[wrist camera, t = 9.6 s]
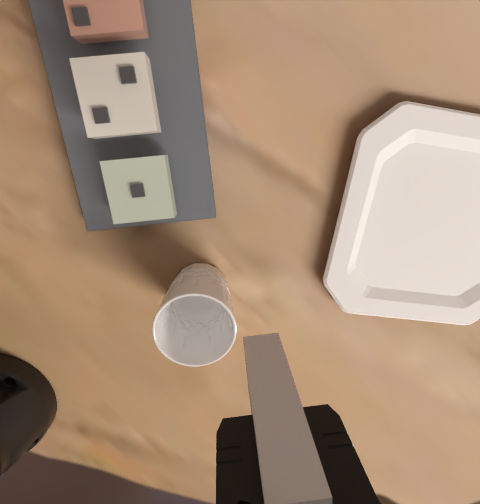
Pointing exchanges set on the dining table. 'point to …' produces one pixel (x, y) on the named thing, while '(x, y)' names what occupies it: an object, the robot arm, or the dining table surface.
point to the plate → (411, 218)
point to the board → (168, 103)
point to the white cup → (195, 317)
